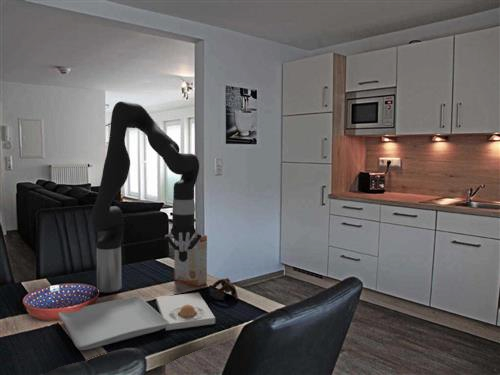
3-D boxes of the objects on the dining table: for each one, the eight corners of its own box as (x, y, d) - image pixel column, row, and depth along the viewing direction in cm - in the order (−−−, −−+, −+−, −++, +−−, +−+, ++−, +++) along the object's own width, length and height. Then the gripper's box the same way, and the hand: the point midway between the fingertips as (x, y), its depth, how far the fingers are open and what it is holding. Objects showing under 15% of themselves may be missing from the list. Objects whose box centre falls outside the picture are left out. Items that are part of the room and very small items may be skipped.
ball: (181, 306, 130) (178, 304, 135) (181, 322, 129) (178, 319, 134) (196, 304, 132) (192, 303, 137) (196, 320, 131) (193, 318, 136)
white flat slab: (165, 330, 125) (165, 324, 125) (156, 302, 148) (156, 297, 147) (215, 323, 131) (215, 317, 130) (198, 297, 153) (198, 292, 153)
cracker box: (207, 283, 169) (207, 234, 167) (197, 287, 165) (197, 237, 163) (183, 276, 178) (183, 230, 176) (173, 280, 173) (173, 232, 171)
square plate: (57, 322, 130) (57, 311, 130) (139, 304, 146) (139, 294, 146) (77, 359, 108) (76, 345, 108) (170, 333, 124) (170, 321, 124)
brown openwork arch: (238, 303, 149) (228, 286, 147) (216, 312, 151) (206, 296, 148) (240, 285, 160) (231, 269, 158) (219, 293, 162) (210, 278, 160)
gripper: (200, 209, 142) (199, 257, 144) (162, 210, 138) (162, 259, 140) (205, 213, 135) (203, 263, 137) (165, 214, 131) (165, 265, 133)
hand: (182, 261), depth 139 cm, fingers closed
